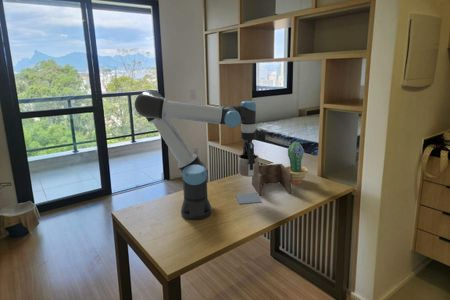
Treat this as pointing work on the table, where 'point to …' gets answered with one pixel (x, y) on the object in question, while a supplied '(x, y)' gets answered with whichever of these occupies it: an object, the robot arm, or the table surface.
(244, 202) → the mat
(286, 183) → the wooden cubby shelf
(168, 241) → the table surface
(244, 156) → the planter
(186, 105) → the robot arm
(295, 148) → the potted cactus
